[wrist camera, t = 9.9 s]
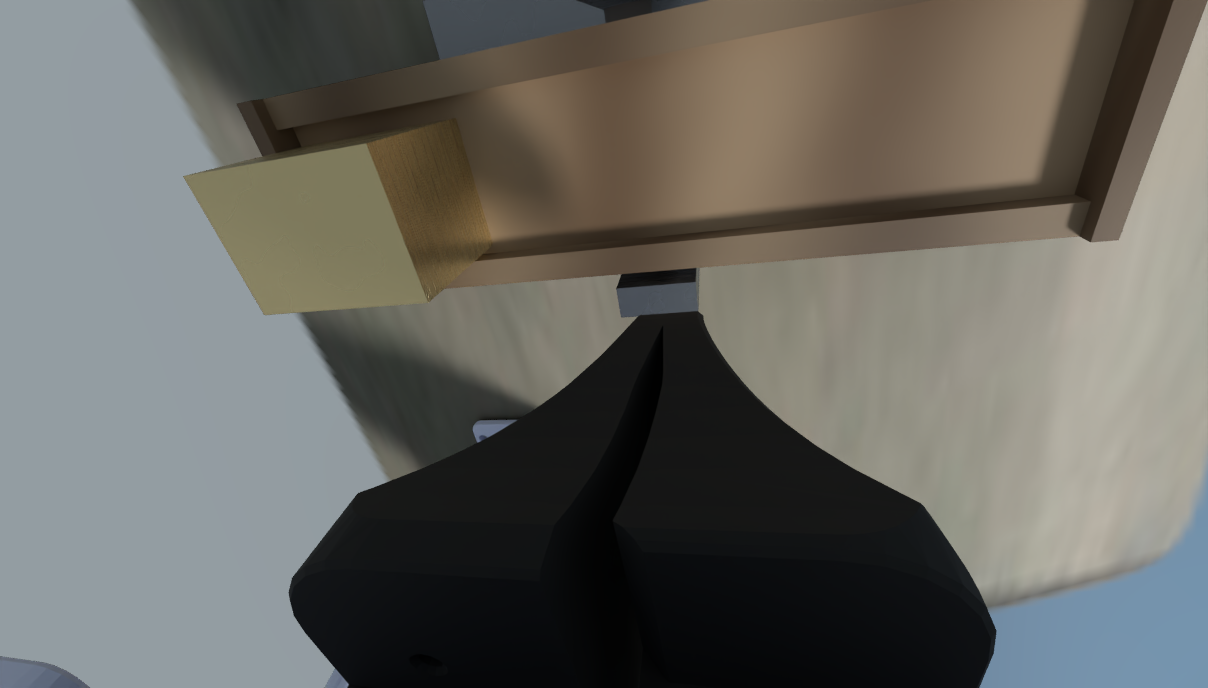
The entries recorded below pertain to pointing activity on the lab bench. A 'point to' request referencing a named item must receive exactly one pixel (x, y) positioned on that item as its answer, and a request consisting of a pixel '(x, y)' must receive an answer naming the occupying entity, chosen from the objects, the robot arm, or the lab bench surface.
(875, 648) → the robot arm
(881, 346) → the lab bench surface
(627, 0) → the pivot stand
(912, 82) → the beam
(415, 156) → the block
